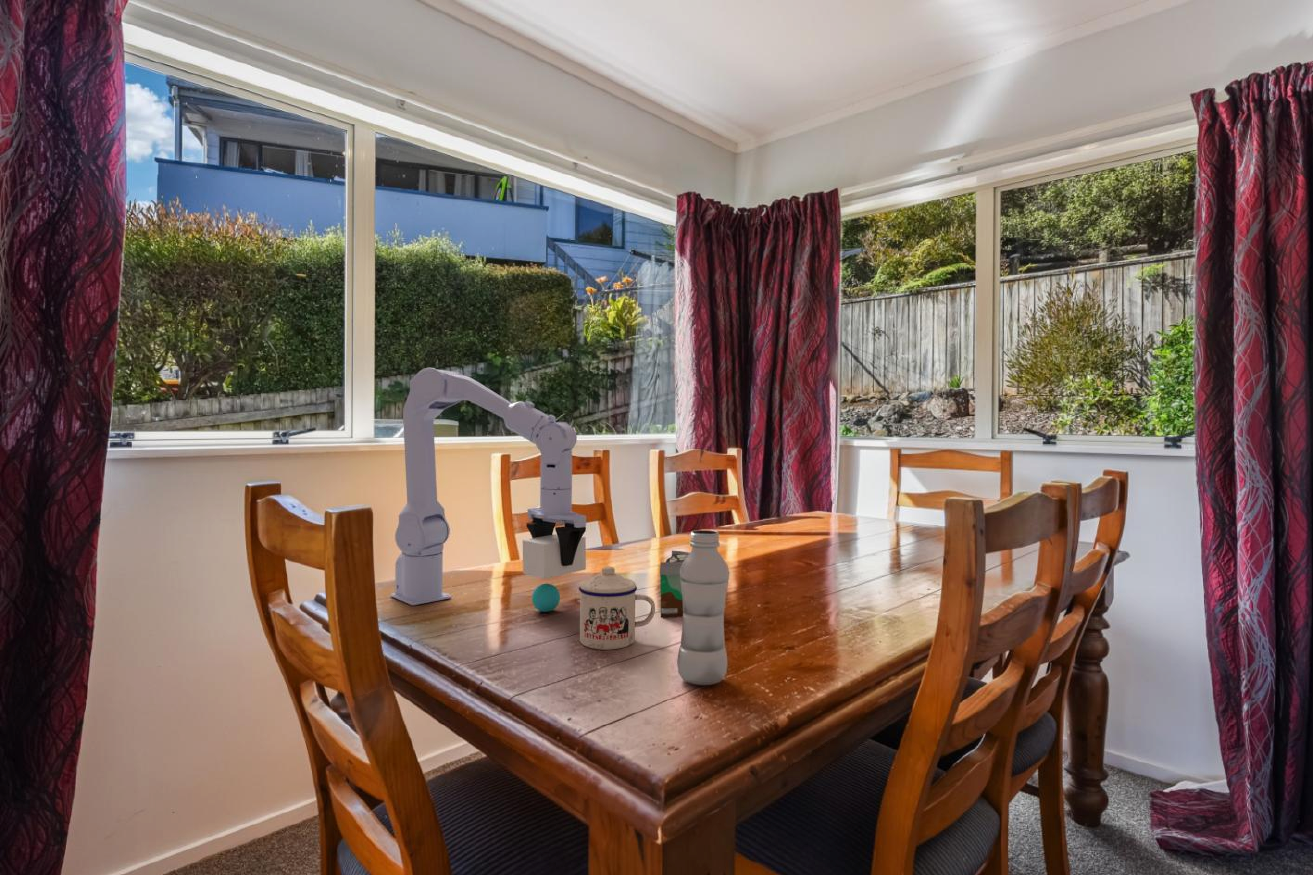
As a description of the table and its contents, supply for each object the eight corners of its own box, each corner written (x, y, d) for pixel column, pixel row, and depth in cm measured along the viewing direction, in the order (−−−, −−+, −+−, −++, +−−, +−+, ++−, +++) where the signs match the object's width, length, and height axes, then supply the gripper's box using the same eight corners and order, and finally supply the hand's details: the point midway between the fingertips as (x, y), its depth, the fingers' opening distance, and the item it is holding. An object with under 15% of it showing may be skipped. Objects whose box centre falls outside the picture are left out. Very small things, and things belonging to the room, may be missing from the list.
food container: (693, 622, 115) (694, 564, 115) (659, 619, 116) (659, 562, 116) (703, 603, 127) (704, 551, 127) (671, 601, 128) (672, 549, 128)
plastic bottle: (674, 673, 91) (676, 528, 91) (722, 672, 92) (725, 528, 92) (679, 692, 85) (682, 536, 85) (732, 691, 86) (734, 536, 85)
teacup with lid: (576, 651, 100) (577, 574, 99) (580, 632, 109) (580, 561, 108) (656, 651, 100) (657, 574, 100) (653, 632, 109) (654, 561, 109)
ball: (544, 576, 123) (553, 598, 124) (522, 590, 120) (532, 613, 121) (560, 581, 119) (569, 604, 121) (538, 596, 116) (547, 620, 118)
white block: (523, 573, 120) (522, 540, 120) (564, 564, 127) (564, 532, 127) (544, 579, 116) (544, 544, 116) (585, 569, 123) (585, 536, 123)
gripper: (514, 486, 123) (513, 559, 124) (564, 492, 114) (563, 572, 114) (544, 484, 129) (544, 554, 129) (595, 490, 119) (594, 565, 119)
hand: (555, 562), depth 122 cm, fingers closed on white block, 6 cm apart
